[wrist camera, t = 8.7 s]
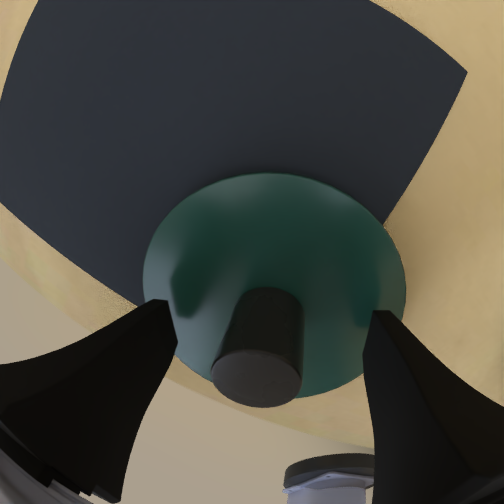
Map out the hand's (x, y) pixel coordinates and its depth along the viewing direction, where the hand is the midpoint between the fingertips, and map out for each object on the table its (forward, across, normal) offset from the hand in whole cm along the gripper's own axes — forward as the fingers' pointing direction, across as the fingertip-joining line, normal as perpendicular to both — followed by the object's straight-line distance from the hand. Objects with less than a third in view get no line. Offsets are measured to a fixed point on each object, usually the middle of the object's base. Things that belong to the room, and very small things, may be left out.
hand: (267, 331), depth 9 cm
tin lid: (+1, 0, 0) cm, 1 cm away
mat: (+2, +6, -8) cm, 10 cm away
